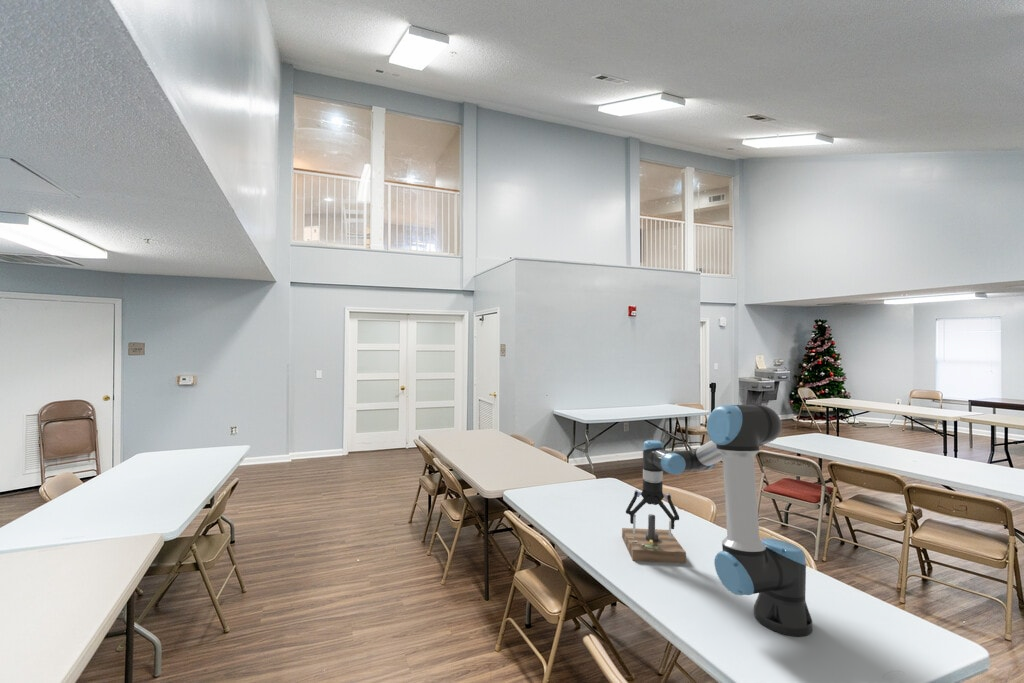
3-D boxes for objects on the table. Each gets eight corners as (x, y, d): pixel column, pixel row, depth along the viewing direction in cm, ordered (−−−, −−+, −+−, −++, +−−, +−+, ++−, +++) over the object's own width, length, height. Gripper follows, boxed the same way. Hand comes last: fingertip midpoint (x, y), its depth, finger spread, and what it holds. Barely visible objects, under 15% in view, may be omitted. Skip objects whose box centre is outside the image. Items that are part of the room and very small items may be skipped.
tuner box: (685, 562, 174) (685, 551, 174) (632, 560, 175) (632, 549, 175) (669, 539, 196) (669, 529, 196) (621, 537, 197) (622, 527, 197)
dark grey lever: (658, 537, 187) (658, 509, 187) (657, 549, 176) (658, 519, 176) (645, 535, 189) (646, 507, 189) (644, 547, 177) (644, 517, 177)
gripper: (685, 481, 180) (685, 535, 179) (621, 474, 188) (620, 526, 187) (686, 486, 173) (685, 542, 172) (619, 479, 181) (618, 533, 180)
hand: (651, 534), depth 180 cm, fingers open, 13 cm apart
